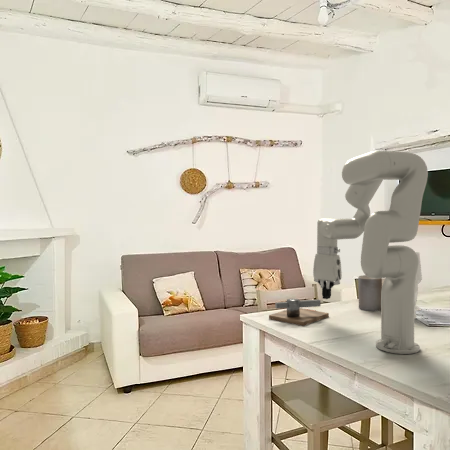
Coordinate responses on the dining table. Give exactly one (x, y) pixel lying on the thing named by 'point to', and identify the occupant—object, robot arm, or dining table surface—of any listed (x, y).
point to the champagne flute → (418, 275)
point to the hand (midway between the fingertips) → (326, 298)
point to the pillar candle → (369, 293)
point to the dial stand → (300, 317)
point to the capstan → (296, 306)
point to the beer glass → (415, 297)
